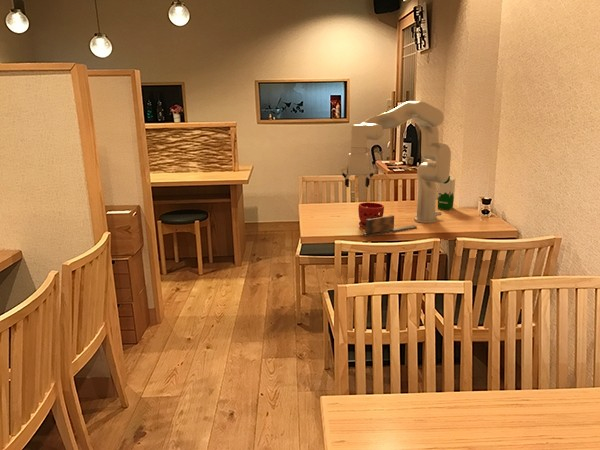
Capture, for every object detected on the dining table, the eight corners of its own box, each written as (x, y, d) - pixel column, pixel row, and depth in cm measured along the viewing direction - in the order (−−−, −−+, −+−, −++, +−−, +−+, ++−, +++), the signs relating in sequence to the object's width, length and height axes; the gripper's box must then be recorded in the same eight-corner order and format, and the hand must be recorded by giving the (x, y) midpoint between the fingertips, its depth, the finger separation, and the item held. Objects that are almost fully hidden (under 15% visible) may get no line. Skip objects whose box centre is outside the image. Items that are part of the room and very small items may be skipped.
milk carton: (435, 209, 295) (437, 175, 290) (440, 205, 302) (442, 173, 297) (450, 210, 291) (452, 177, 285) (454, 207, 298) (457, 174, 292)
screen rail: (412, 226, 260) (413, 224, 260) (416, 228, 257) (416, 226, 257) (363, 235, 246) (363, 233, 246) (366, 237, 244) (366, 235, 244)
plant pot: (370, 231, 252) (371, 209, 249) (352, 226, 262) (353, 204, 259) (388, 227, 260) (389, 205, 256) (370, 222, 270) (371, 200, 267)
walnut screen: (391, 228, 253) (392, 215, 251) (394, 229, 251) (395, 216, 249) (365, 232, 246) (365, 219, 244) (368, 234, 244) (368, 220, 242)
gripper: (374, 150, 240) (372, 185, 244) (339, 150, 237) (337, 185, 242) (378, 151, 232) (376, 188, 237) (342, 152, 230) (341, 188, 235)
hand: (357, 186), depth 239 cm, fingers open, 9 cm apart
